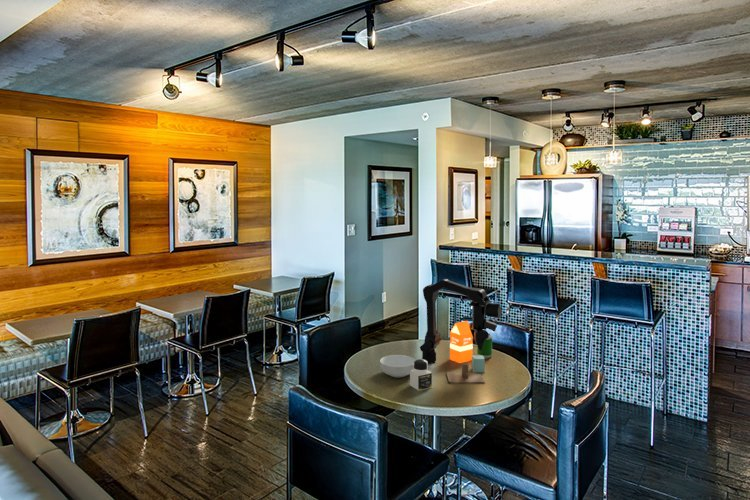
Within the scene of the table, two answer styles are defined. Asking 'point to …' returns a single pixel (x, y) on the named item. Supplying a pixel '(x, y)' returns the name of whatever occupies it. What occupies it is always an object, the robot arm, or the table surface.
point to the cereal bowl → (397, 365)
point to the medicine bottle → (420, 375)
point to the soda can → (486, 348)
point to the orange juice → (461, 342)
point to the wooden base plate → (465, 376)
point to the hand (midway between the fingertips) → (478, 347)
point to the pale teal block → (478, 363)
